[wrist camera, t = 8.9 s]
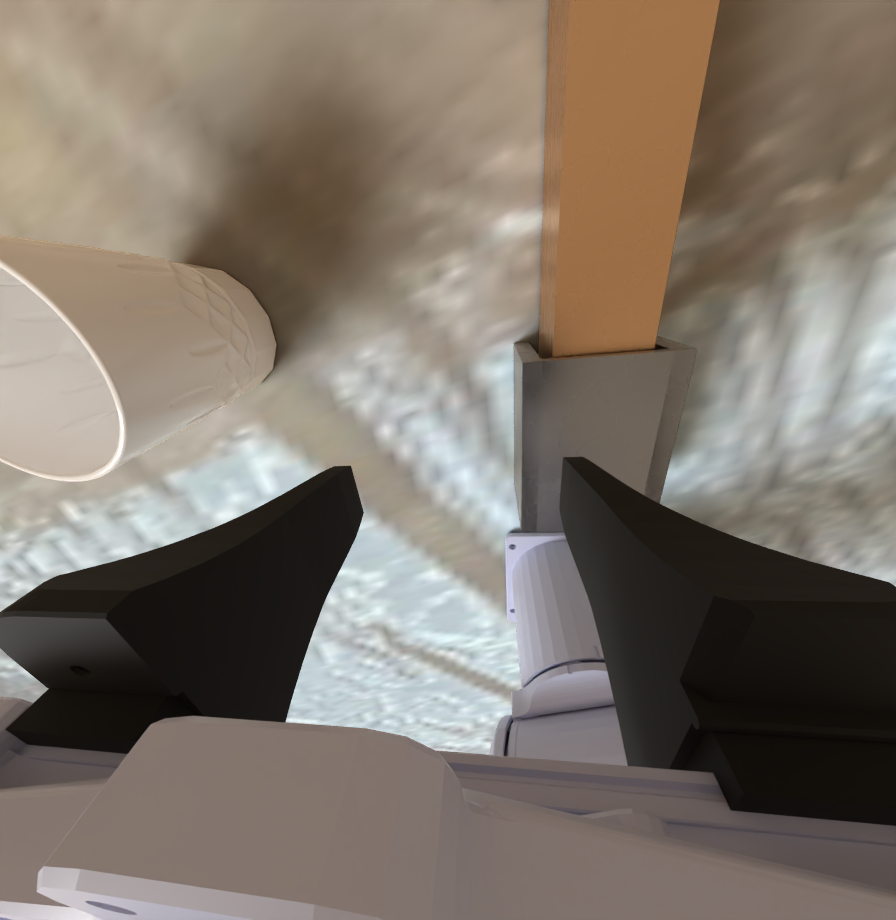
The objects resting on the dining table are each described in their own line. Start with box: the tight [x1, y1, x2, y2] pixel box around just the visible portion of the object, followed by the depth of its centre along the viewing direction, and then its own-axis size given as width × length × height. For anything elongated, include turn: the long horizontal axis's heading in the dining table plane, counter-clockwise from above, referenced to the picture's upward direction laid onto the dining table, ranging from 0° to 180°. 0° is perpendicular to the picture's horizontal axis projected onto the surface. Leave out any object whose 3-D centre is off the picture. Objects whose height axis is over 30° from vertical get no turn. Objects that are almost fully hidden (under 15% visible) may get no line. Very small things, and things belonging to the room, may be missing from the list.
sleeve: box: [514, 336, 697, 532], centre depth 17 cm, size 9×7×5 cm
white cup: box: [0, 235, 276, 482], centre depth 15 cm, size 8×8×10 cm
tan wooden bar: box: [539, 0, 720, 359], centre depth 12 cm, size 16×4×4 cm, turn 6°
